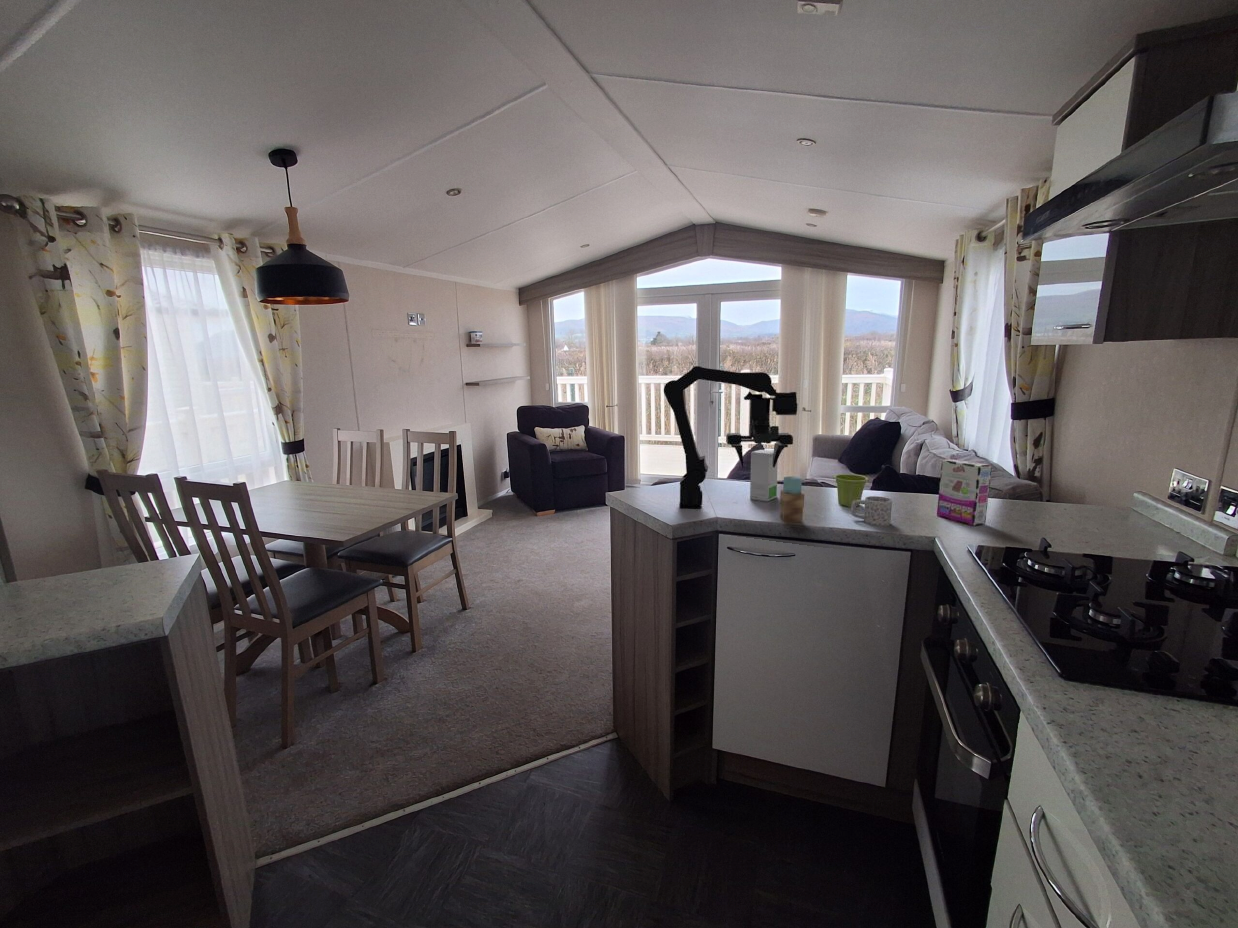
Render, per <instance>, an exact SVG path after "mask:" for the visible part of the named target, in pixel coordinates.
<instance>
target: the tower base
mask: <svg viewBox="0 0 1238 928" xmlns="http://www.w3.org/2000/svg"><path fill="white" fill-rule="evenodd" d="M803 514H804V508H790V509H786V508H784V507H783V506H782V505H781V504H780V518H781V520H782V521H783V522H784V523H803Z"/></svg>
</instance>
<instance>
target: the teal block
mask: <svg viewBox="0 0 1238 928" xmlns="http://www.w3.org/2000/svg"><path fill="white" fill-rule="evenodd" d="M802 483H803V478H802V477H798V476H784V477H783V489H782V490H783V492H784V493H786V494H800V493H801V492H802Z"/></svg>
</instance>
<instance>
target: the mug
mask: <svg viewBox="0 0 1238 928" xmlns="http://www.w3.org/2000/svg"><path fill="white" fill-rule="evenodd" d="M856 504H860V505H864V509H863V510H864V511H863V513H862V514H861V513H857V512H856V507H857V506H856ZM855 506H856V507H855ZM892 508H893V499H891V498H889V497H885V496H878V495H873V496H872V495H871V496H866V497H865V498H864V499H861V500H855V501H853V502H852V506H851V507H850V509H851V511H850V512H851V515H852V516H853V517H855V518H858V519H862V520H863V523H864V524H866V525H870V526H873V527H874V526H875V527H889V526H890V525H891V520H892V519H891V518H892Z"/></svg>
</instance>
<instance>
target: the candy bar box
mask: <svg viewBox="0 0 1238 928" xmlns="http://www.w3.org/2000/svg"><path fill="white" fill-rule="evenodd" d="M992 469H993V464H988V463H982V462H976V461H975V462H974V461H969V460H962V459H957V458H948V459H942V460H941V467H940V478H939V479H940V481H939V487H938V488H939V489H938V498H937V499H938V500H937V507H936V516H937V517H940V518H943V519H947V520H951V521H954V522H958V523H962V524H965V525H969V526H973V527H974V526H982V525H985V524H986V520H987V513H988V512H987V511H988V502H989V491H990V486H991V477H992Z"/></svg>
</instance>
